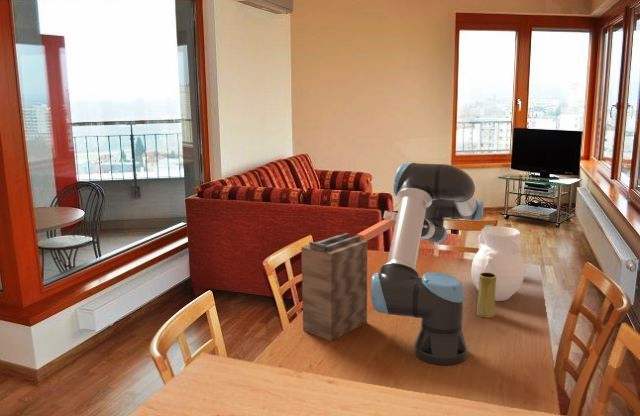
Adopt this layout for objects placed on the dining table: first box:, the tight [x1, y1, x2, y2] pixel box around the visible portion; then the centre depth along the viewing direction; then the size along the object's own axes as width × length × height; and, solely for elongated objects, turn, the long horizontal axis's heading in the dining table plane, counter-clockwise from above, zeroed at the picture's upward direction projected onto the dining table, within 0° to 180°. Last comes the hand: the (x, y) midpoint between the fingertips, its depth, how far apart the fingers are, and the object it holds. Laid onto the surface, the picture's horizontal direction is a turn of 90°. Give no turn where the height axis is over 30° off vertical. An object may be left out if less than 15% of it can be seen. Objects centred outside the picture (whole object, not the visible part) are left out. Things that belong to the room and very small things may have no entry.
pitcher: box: [470, 225, 525, 302], centre depth 205 cm, size 19×18×25 cm
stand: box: [300, 232, 368, 342], centre depth 181 cm, size 18×12×30 cm, turn 138°
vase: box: [475, 272, 496, 319], centre depth 190 cm, size 6×6×14 cm
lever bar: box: [356, 216, 396, 242], centre depth 196 cm, size 26×3×3 cm, turn 138°
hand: (388, 215), depth 198 cm, fingers closed on lever bar, 3 cm apart
